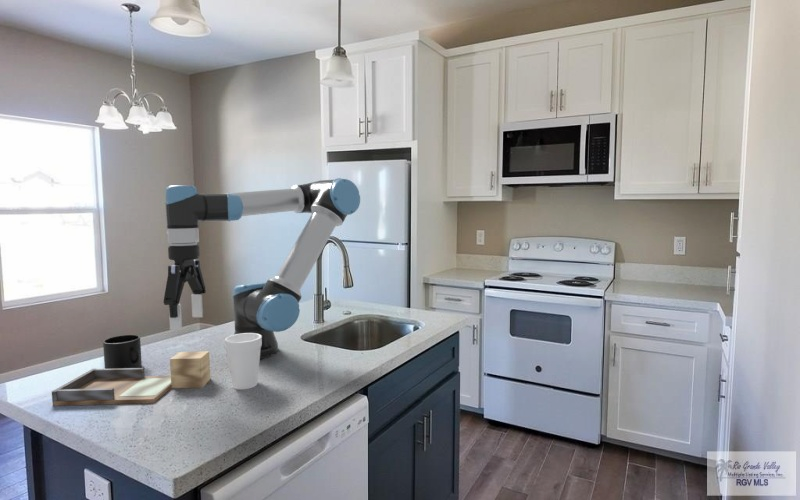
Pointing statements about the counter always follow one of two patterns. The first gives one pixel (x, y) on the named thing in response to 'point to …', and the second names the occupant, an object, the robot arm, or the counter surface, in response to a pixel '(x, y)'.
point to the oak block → (190, 369)
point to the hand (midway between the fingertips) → (187, 323)
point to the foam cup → (243, 359)
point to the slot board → (112, 388)
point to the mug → (122, 352)
